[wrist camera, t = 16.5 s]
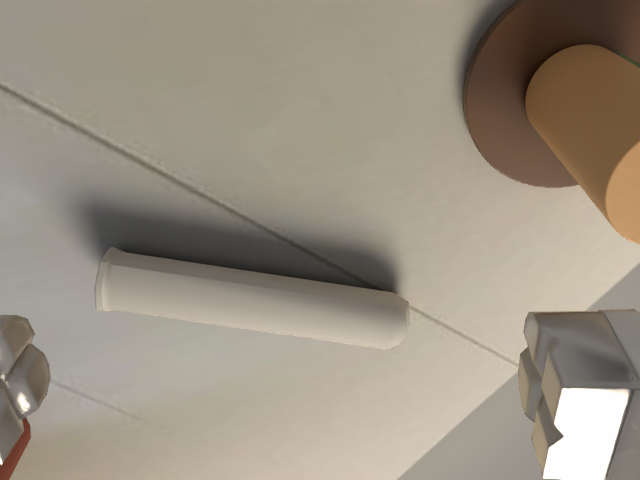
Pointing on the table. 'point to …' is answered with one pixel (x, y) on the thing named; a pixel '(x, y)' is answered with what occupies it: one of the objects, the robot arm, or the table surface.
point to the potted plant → (15, 453)
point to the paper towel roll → (593, 126)
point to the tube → (250, 300)
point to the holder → (520, 66)
